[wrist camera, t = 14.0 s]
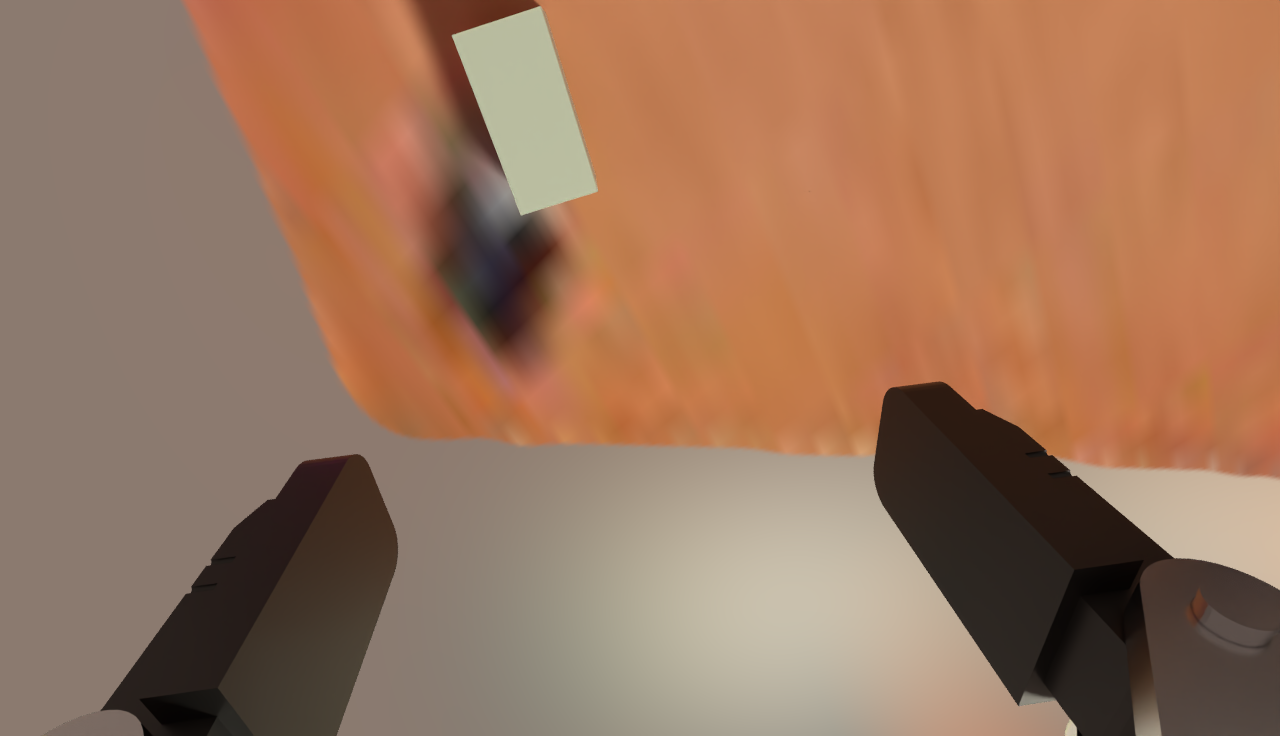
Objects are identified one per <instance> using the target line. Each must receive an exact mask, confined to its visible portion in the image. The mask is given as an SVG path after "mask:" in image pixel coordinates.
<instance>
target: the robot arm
mask: <svg viewBox="0 0 1280 736" xmlns="http://www.w3.org/2000/svg"><path fill="white" fill-rule="evenodd" d="M1046 451H1047V450H1045V449H1044V448H1043V447H1042V446H1041V445H1040V444H1038V443H1037V442H1036V441H1035V440H1034V439H1032V438H1031V437H1030V436H1029V435H1028V434H1027V433H1025V432H1024V431H1023V430H1022V429H1021V428H1019V427H1018V426H1016V425H1014V424H1012V423H1010V422H1008V421H1006V420H1004V419H1002V418H999V417H997V416H995V415H993V414H991V413H989V412H987V411H985V410H983V409H979V410H976V409H975V408H974V407H972V406H971V405H970V404H969V403H968V402H967V401H966V400H965V399H963V398H962V397H961V396H960V395H959V394H958V393H957V392H956V391H954V390H953V389H952V388H951V387H950V386H949V385H947V384H946V383H944V382H932V383H924V384H916V385H908V386H901V387H893V388H890V389H889V390H888V391H887V392H886V394H885V396H884V400H883V405H882V412H881V419H880V426H879V433H878V440H877V447H876V454H875V462H874V480H875V485H876V489H877V493H878V496H879V498H880V500H881V502H882V504H883V506H884V508H885V509H886V511H887V512H888V513H889V515H890V516H891V518H892V519H893V521H894V522H895V524H896V525H897V527H898V528H899V530H900V531H901V533H902V534H903V536H904V537H905V539H906V540H907V542H908V543H909V545H910V546H911V547H912V549H913V551H914V552H915V554H916V555H917V557H918V558H919V559H920V561H921V562H922V564H923V565H924V567H925V568H926V570H927V571H928V573H929V574H930V576H931V577H932V579H933V580H934V582H935V583H936V585H937V586H938V588H939V589H940V590H941V592H942V594H943V595H944V596H945V598H946V599H947V601H948V602H949V604H950V605H951V607H952V608H953V610H954V611H955V613H956V614H957V616H958V617H959V619H960V620H961V621H962V623H963V625H964V626H965V628H966V629H967V630H968V632H969V634H970V635H971V636H972V638H973V639H974V641H975V642H976V644H977V645H978V647H979V648H980V650H981V651H982V653H983V654H984V656H985V657H986V659H987V660H988V662H989V663H990V664H991V666H992V668H993V669H994V671H995V672H996V674H997V675H998V676H999V678H1000V679H1001V681H1002V682H1003V684H1004V685H1005V687H1006V688H1007V690H1008V691H1009V693H1010V694H1011V696H1012V697H1013V699H1014V700H1015V702H1016V703H1017V705H1018V706H1022V705H1029V704H1035V703H1042V702H1047V701H1055V700H1057V702H1058V703H1059V704H1060V706H1061V707H1062V709H1063V710H1064V711H1065V713H1066V714H1067V715H1068V717H1069V718H1070V720H1069V722H1068V724H1067V727H1066V729H1065V736H1280V590H1278V589H1277V588H1275V587H1273V586H1271V585H1270V584H1268V583H1266V582H1264V581H1261V580H1259V579H1257V578H1255V577H1253V576H1251V575H1248V574H1246V573H1243V572H1241V571H1238V570H1235V569H1233V568H1229V567H1226V566H1223V565H1220V564H1216V563H1211V562H1207V561H1202V560H1195V559H1181V558H1179V559H1178V558H1176V559H1175V558H1173V557H1172V556H1171V555H1169V554H1168V553H1167V552H1166V551H1165V550H1164V549H1162V548H1161V547H1160V546H1159V545H1158V544H1156V543H1155V542H1154V541H1153V540H1152V539H1151V538H1150V537H1148V536H1147V535H1146V534H1145V533H1144V532H1142V531H1141V530H1140V529H1139V528H1138V527H1136V526H1135V525H1134V524H1133V523H1132V522H1131V521H1129V520H1128V519H1127V518H1126V517H1125V516H1123V515H1122V514H1121V513H1120V512H1119V511H1118V510H1116V509H1115V508H1114V507H1113V506H1112V505H1110V504H1109V503H1108V502H1107V501H1106V500H1105V499H1103V498H1102V497H1101V496H1100V495H1099V494H1097V493H1096V492H1095V491H1094V490H1093V489H1092V488H1090V487H1089V486H1088V485H1087V484H1086V483H1084V482H1083V481H1082V480H1081V479H1080V478H1079V477H1077V476H1071V474H1070V470H1069V469H1068V468H1067V467H1066V466H1064V465H1063V464H1062V463H1061V462H1060V461H1058V460H1057V459H1056V458H1055V457H1054V456H1053V455H1050V456H1048V455H1047V453H1046ZM397 557H398V543H397V535H396V531H395V528H394V525H393V523H392V520H391V518H390V515H389V513H388V511H387V508H386V506H385V503H384V501H383V498H382V496H381V494H380V491H379V489H378V486H377V484H376V481H375V479H374V477H373V474H372V472H371V469H370V467H369V464H368V463H367V461H366V460H365V458H364V457H362V456H361V455H358V454H355V455H347V456H340V457H332V458H323V459H315V460H309V461H304V462H302V463H301V464H300V465H299V466H298V467H297V468H296V469H295V471H294V472H293V474H292V475H291V477H290V478H289V480H288V481H287V483H286V484H285V486H284V487H283V488H282V490H281V491H280V493H279V494H278V496H277V497H276V499H272V500H267V501H266V502H265V503H263V504H262V505H261V506H260V507H259V508H258V509H256V510H255V511H254V512H253V513H252V514H250V515H249V516H248V517H247V518H245V519H244V520H243V521H242V522H241V523H239V524H238V525H237V526H236V527H235V528H234V529H233V530H232V531H231V533H230V534H229V535H228V537H227V538H226V540H225V541H224V543H223V544H222V545H221V547H220V548H219V549H218V551H217V552H216V553H215V555H214V556H213V557H212V559H211V561H212V563H211V566H206V567H205V569H204V570H203V571H202V573H201V574H200V575H199V577H198V578H197V579H196V581H195V582H194V584H193V585H192V592H191V593H189V594H186V595H185V596H184V597H183V599H182V600H181V601H180V603H179V604H178V605H177V607H176V609H175V610H174V611H173V612H172V614H171V615H170V616H169V618H168V619H167V621H166V622H165V623H164V625H163V626H162V628H161V629H160V630H159V632H158V633H157V634H156V636H155V637H154V638H153V640H152V641H151V643H150V644H149V645H148V647H147V648H146V649H145V651H144V652H143V654H142V655H141V656H140V658H139V659H138V661H137V662H136V663H135V665H134V666H133V667H132V669H131V670H130V671H129V673H128V674H127V676H126V677H125V678H124V680H123V681H122V682H121V684H120V685H119V687H118V688H117V689H116V691H115V692H114V694H113V695H112V696H111V697H110V699H109V700H108V702H107V703H106V704H105V706H104V707H103V708H102V709H101V711H99V712H94V713H91V714H87V715H84V716H81V717H78V718H76V719H73V720H71V721H69V722H66V723H64V724H62V725H60V726H58V727H56V728H54V729H53V730H51V731H49V732H47V733H45V734H44V735H42V736H336V735H337V732H338V730H339V727H340V724H341V721H342V718H343V715H344V712H345V710H346V707H347V704H348V702H349V699H350V696H351V693H352V690H353V687H354V684H355V682H356V679H357V676H358V673H359V671H360V668H361V665H362V662H363V659H364V656H365V654H366V650H367V648H368V645H369V642H370V640H371V637H372V634H373V631H374V628H375V626H376V623H377V620H378V617H379V614H380V611H381V609H382V606H383V603H384V600H385V598H386V595H387V592H388V589H389V586H390V583H391V580H392V578H393V575H394V572H395V569H396V564H397Z"/></svg>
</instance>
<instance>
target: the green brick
mask: <svg viewBox="0 0 1280 736" xmlns="http://www.w3.org/2000/svg"><path fill="white" fill-rule="evenodd" d="M452 37H453V40H454V43H455V45H456V48H457V50H458V53H459V56H460V58H461V61H462V63H463V66H464V69H465V71H466V74H467V76H468V79H469V82H470V84H471V87H472V89H473V92H474V95H475V97H476V100H477V102H478V105H479V108H480V110H481V113H482V115H483V118H484V121H485V123H486V126H487V128H488V131H489V134H490V136H491V139H492V141H493V144H494V147H495V149H496V152H497V154H498V157H499V160H500V162H501V165H502V167H503V170H504V173H505V175H506V178H507V180H508V183H509V186H510V188H511V191H512V193H513V196H514V199H515V201H516V204H517V206H518V209H519V212H520V214H521V215H524V214H527V213H530V212H533V211H537V210H540V209H543V208H546V207H550V206H553V205H556V204H559V203H562V202H566V201H569V200H572V199H575V198H579V197H582V196H585V195H588V194H592V193H595V192H598V188H597V181H596V175H595V171H594V168H593V165H592V162H591V158H590V155H589V152H588V149H587V145H586V142H585V139H584V136H583V132H582V129H581V126H580V123H579V119H578V116H577V113H576V110H575V106H574V103H573V100H572V97H571V93H570V90H569V87H568V84H567V80H566V77H565V74H564V71H563V67H562V64H561V61H560V58H559V54H558V51H557V48H556V45H555V41H554V38H553V35H552V32H551V28H550V25H549V22H548V19H547V15H546V13H545V11H544V10H543V9H542V7H541V6H539V7H536V8H533V9H530V10H527V11H524V12H521V13H518V14H515V15H512V16H509V17H506V18H502V19H499V20H496V21H493V22H490V23H487V24H484V25H481V26H478V27H475V28H472V29H469V30H466V31H463V32H460V33H457V34H454V35H452Z"/></svg>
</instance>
